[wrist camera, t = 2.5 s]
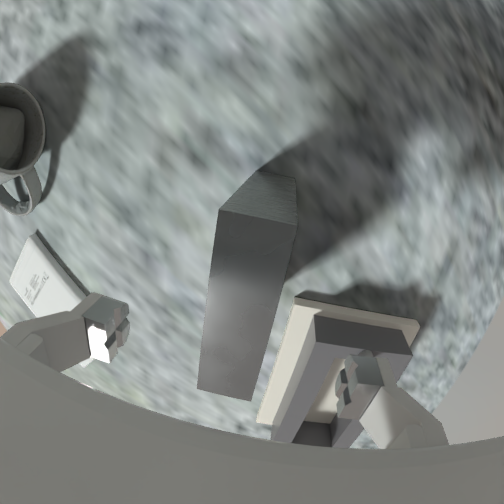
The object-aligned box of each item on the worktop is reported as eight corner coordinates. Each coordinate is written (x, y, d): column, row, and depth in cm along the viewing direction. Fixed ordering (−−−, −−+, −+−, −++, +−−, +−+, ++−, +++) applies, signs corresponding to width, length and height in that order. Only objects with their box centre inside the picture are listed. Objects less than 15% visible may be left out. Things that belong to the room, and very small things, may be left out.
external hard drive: (90, 360, 28) (16, 276, 26) (125, 329, 25) (38, 230, 23) (83, 369, 27) (7, 283, 24) (117, 340, 24) (27, 236, 21)
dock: (294, 297, 21) (293, 343, 16) (416, 319, 21) (438, 363, 16) (257, 414, 27) (250, 457, 22) (352, 426, 26) (356, 467, 21)
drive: (255, 170, 18) (216, 208, 9) (295, 178, 18) (298, 226, 9) (234, 283, 21) (195, 388, 12) (269, 291, 21) (250, 401, 12)
